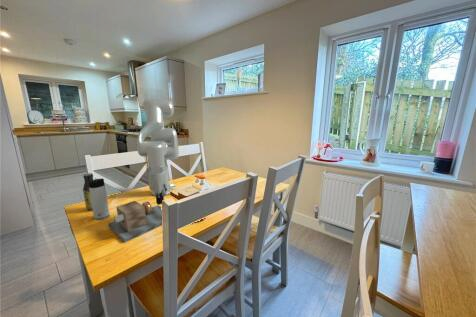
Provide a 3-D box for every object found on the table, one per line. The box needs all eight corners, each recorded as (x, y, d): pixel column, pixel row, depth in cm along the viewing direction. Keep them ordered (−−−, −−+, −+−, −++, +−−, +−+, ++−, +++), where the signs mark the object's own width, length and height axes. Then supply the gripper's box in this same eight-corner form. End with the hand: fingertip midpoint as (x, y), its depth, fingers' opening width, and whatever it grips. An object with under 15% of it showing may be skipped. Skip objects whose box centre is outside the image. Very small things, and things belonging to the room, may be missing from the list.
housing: (158, 207, 107) (156, 190, 104) (176, 218, 96) (175, 199, 93) (108, 226, 88) (105, 206, 86) (124, 242, 77) (121, 220, 75)
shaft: (146, 211, 95) (145, 200, 94) (152, 215, 92) (151, 203, 90) (113, 223, 84) (111, 211, 83) (119, 228, 81) (117, 215, 79)
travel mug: (102, 221, 93) (95, 181, 89) (91, 219, 94) (84, 180, 90) (113, 214, 99) (107, 177, 95) (102, 213, 100) (96, 176, 96)
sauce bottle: (85, 208, 105) (79, 173, 101) (99, 205, 110) (93, 171, 105) (87, 212, 101) (80, 176, 96) (101, 208, 105) (96, 174, 101)
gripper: (142, 167, 96) (146, 201, 100) (157, 174, 86) (161, 211, 91) (156, 164, 101) (159, 196, 106) (172, 170, 92) (175, 205, 96)
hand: (160, 203), depth 98 cm, fingers closed
